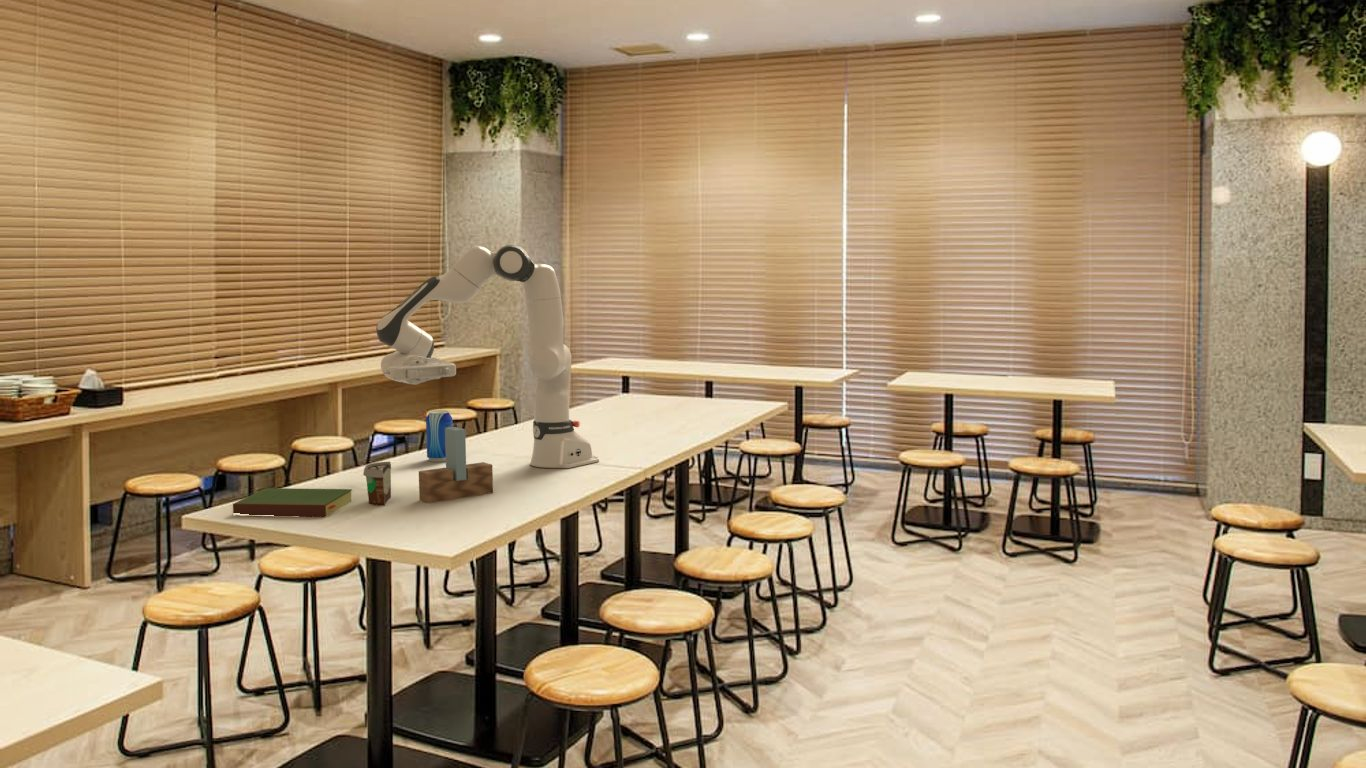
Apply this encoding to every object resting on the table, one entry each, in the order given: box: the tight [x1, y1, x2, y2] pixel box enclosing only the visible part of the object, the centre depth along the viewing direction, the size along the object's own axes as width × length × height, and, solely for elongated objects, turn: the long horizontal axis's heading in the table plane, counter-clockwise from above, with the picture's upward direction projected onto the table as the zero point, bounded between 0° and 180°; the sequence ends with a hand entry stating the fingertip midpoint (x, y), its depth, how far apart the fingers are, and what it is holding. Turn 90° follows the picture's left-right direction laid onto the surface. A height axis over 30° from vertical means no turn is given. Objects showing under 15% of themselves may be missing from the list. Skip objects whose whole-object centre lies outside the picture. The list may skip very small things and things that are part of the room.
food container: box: [363, 461, 392, 507], centre depth 292 cm, size 12×6×10 cm, turn 5°
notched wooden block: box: [418, 461, 494, 504], centre depth 299 cm, size 20×5×8 cm, turn 130°
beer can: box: [425, 409, 454, 463], centre depth 352 cm, size 8×8×16 cm
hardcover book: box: [232, 487, 353, 518], centre depth 285 cm, size 25×19×4 cm
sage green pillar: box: [445, 426, 467, 481], centre depth 298 cm, size 3×6×14 cm, turn 40°
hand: (434, 373), depth 317 cm, fingers open, 8 cm apart
